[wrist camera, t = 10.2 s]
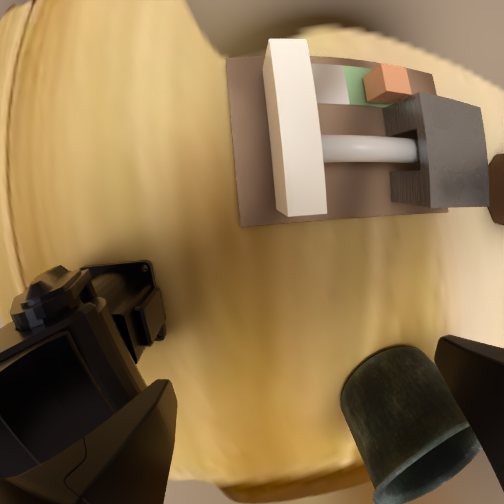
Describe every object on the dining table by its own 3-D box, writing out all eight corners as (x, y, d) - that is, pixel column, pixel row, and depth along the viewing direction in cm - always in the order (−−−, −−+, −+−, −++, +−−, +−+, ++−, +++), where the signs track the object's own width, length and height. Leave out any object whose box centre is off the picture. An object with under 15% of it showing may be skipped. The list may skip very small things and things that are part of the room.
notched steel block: (390, 201, 19) (430, 208, 14) (382, 108, 17) (418, 91, 12) (447, 200, 19) (489, 206, 14) (440, 117, 17) (480, 107, 12)
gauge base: (240, 225, 20) (240, 227, 19) (226, 63, 17) (225, 57, 16) (441, 210, 20) (448, 212, 19) (425, 77, 17) (432, 74, 16)
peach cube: (367, 102, 17) (386, 90, 14) (362, 77, 16) (380, 63, 13) (390, 104, 17) (411, 94, 14) (386, 80, 16) (405, 67, 13)
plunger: (276, 209, 18) (287, 216, 14) (262, 69, 16) (269, 38, 12) (398, 202, 18) (435, 207, 14) (383, 76, 16) (414, 55, 12)
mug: (386, 320, 22) (467, 405, 10) (455, 368, 24) (513, 426, 13) (311, 407, 24) (342, 508, 12) (396, 433, 26) (433, 501, 15)
